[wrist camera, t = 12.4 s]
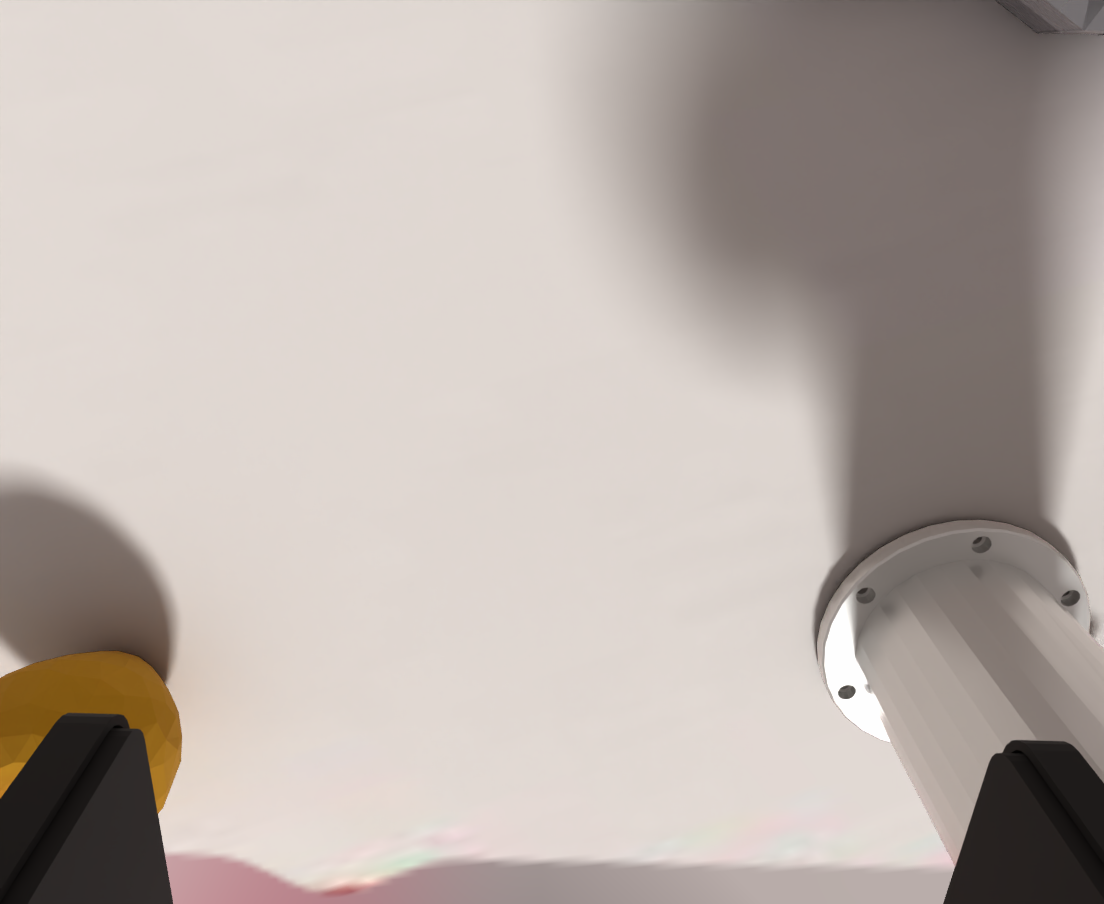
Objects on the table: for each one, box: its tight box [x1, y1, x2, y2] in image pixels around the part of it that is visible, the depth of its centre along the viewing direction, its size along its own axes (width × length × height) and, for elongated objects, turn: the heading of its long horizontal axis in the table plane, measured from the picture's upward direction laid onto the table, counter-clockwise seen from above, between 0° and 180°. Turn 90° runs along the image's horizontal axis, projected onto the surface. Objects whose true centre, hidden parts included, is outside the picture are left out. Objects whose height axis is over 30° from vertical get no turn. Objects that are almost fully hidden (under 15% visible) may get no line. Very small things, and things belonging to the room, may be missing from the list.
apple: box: [0, 651, 182, 813], centre depth 39 cm, size 9×9×9 cm
